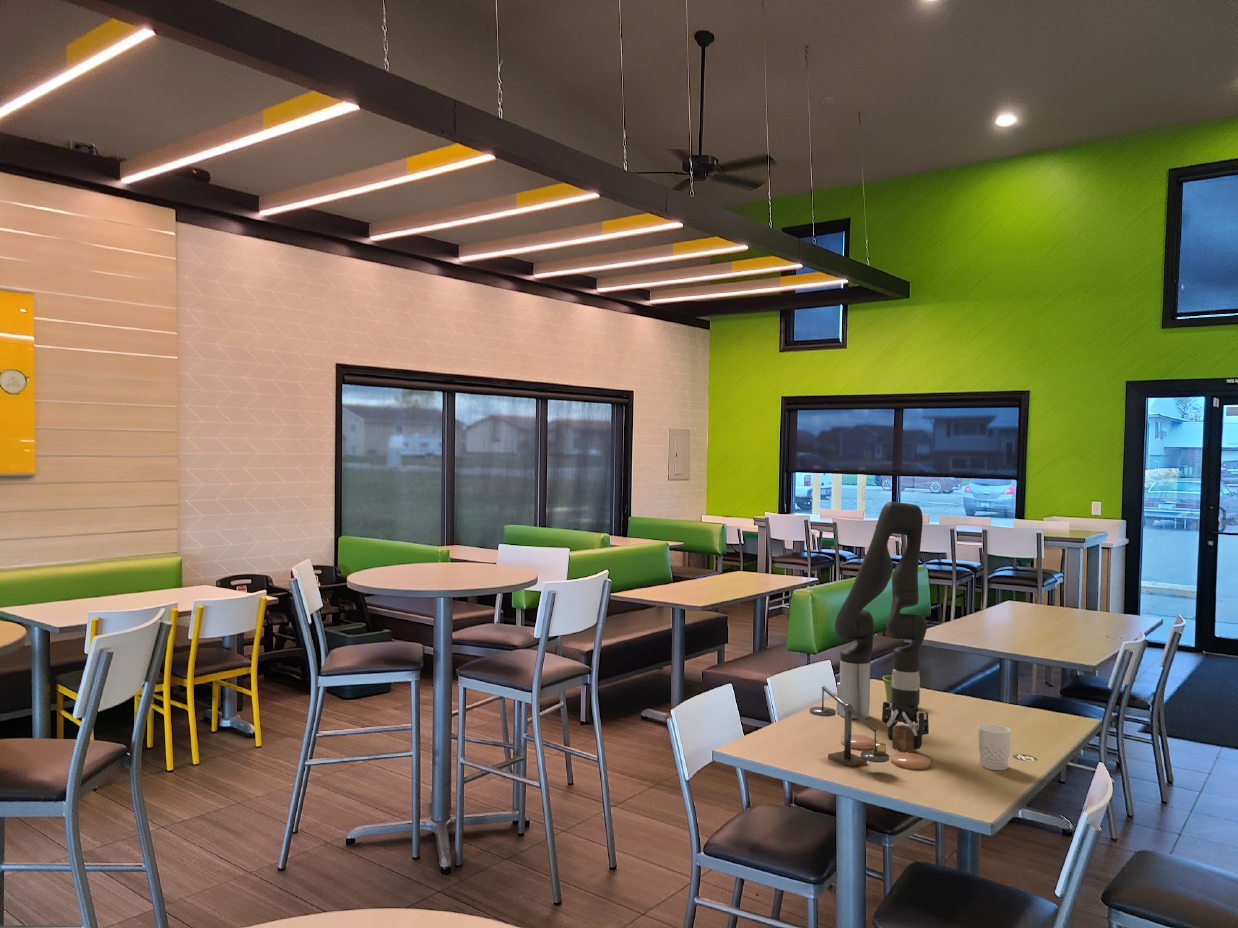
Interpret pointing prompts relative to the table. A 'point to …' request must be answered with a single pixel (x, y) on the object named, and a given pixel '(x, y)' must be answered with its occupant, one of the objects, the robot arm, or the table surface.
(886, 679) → the plant pot
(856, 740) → the dish left
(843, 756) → the balance
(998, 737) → the white cup
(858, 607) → the robot arm
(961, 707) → the table surface
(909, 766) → the dish right
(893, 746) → the walnut block
